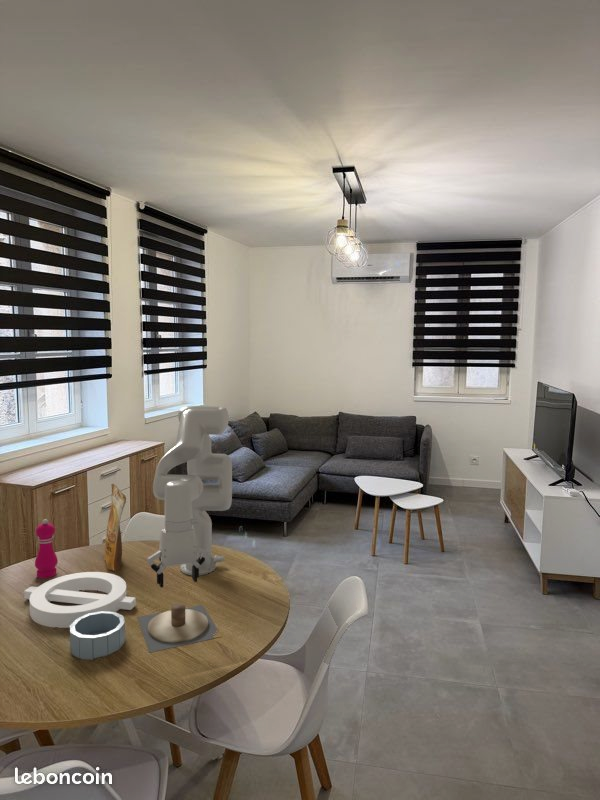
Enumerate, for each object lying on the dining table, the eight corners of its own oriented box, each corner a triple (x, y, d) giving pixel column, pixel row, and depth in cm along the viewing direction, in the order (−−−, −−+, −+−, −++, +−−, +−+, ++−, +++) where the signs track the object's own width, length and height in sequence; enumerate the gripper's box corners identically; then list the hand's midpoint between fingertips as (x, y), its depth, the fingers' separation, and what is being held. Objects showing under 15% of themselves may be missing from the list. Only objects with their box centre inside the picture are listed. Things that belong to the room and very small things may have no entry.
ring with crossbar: (22, 599, 176) (21, 584, 175) (111, 578, 192) (110, 565, 192) (40, 639, 153) (39, 622, 153) (139, 611, 170) (138, 597, 169)
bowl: (120, 627, 160) (120, 607, 159) (127, 652, 147) (127, 631, 147) (69, 637, 154) (68, 617, 153) (72, 664, 142) (71, 642, 141)
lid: (199, 608, 171) (199, 589, 171) (215, 635, 156) (215, 614, 155) (143, 618, 164) (143, 599, 163) (154, 648, 149) (154, 627, 148)
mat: (202, 606, 173) (202, 604, 173) (221, 638, 155) (221, 636, 155) (137, 618, 165) (137, 617, 165) (149, 654, 147) (149, 652, 147)
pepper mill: (61, 570, 196) (60, 516, 194) (50, 579, 189) (49, 523, 187) (42, 569, 197) (41, 515, 195) (30, 578, 190) (29, 522, 188)
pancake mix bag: (121, 551, 215) (120, 481, 211) (127, 571, 197) (126, 495, 194) (103, 554, 212) (101, 483, 209) (107, 574, 195) (106, 497, 191)
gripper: (204, 517, 163) (203, 573, 165) (144, 524, 156) (144, 582, 158) (211, 525, 157) (211, 583, 158) (149, 532, 149) (149, 593, 151)
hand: (178, 582), depth 158 cm, fingers open, 9 cm apart
